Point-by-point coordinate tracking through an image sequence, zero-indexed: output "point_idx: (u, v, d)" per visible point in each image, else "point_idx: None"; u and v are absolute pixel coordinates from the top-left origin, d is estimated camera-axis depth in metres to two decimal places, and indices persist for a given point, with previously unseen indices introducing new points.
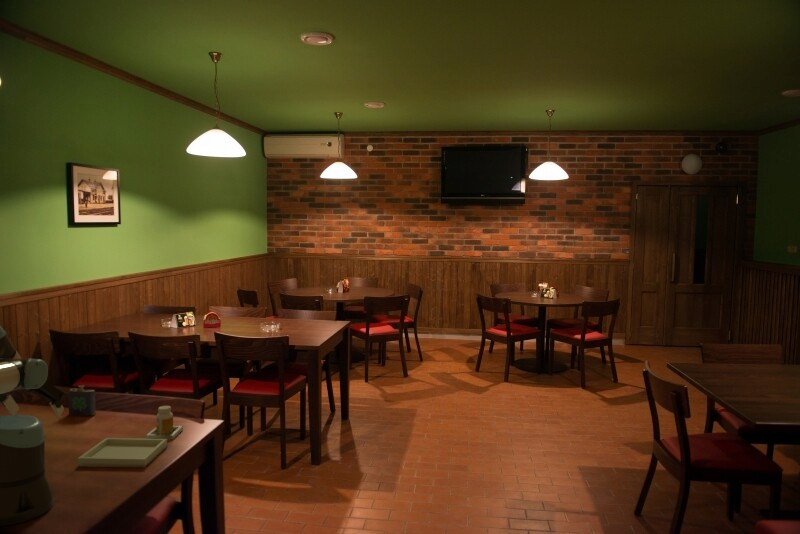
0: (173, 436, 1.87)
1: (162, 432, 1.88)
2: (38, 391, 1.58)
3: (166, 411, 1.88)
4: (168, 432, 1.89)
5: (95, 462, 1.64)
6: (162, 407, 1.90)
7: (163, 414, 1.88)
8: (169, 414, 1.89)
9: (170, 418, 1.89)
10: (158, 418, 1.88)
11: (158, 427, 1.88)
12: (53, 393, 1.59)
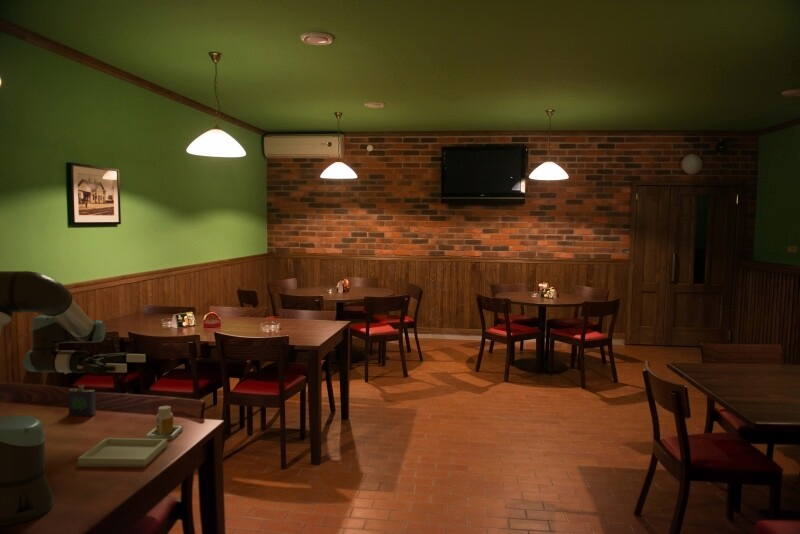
0: (173, 436, 1.87)
1: (162, 432, 1.88)
2: None
3: (166, 411, 1.88)
4: (168, 432, 1.89)
5: (95, 462, 1.64)
6: (162, 407, 1.90)
7: (163, 414, 1.88)
8: (169, 414, 1.89)
9: (170, 418, 1.89)
10: (158, 418, 1.88)
11: (158, 427, 1.88)
12: None
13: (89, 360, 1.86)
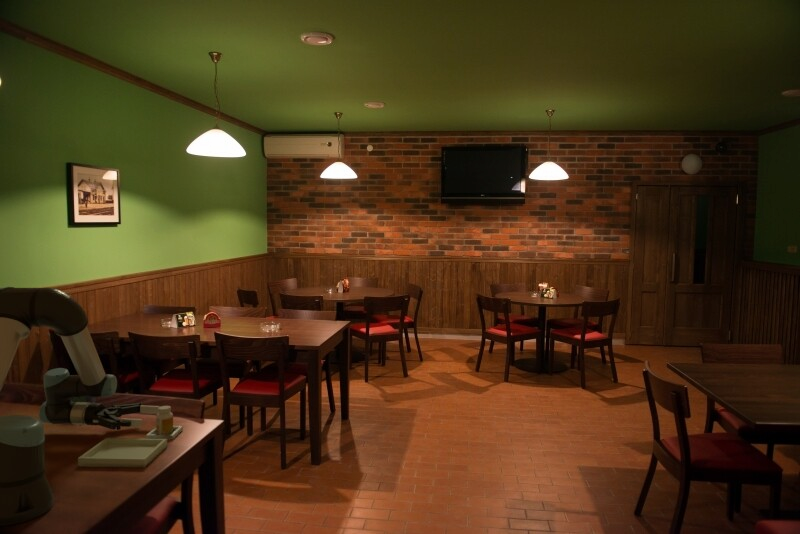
0: (173, 436, 1.87)
1: (162, 432, 1.88)
2: None
3: (166, 411, 1.88)
4: (168, 432, 1.89)
5: (95, 462, 1.64)
6: (162, 407, 1.90)
7: (163, 414, 1.88)
8: (169, 414, 1.89)
9: (170, 418, 1.89)
10: (158, 418, 1.88)
11: (158, 427, 1.88)
12: None
13: (104, 413, 1.88)
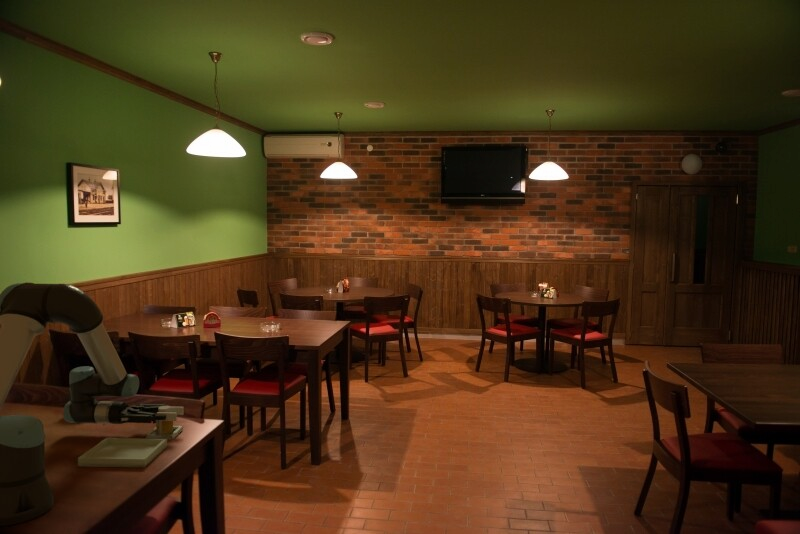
0: (173, 436, 1.87)
1: (162, 432, 1.88)
2: None
3: (166, 411, 1.88)
4: (168, 432, 1.89)
5: (95, 462, 1.64)
6: (162, 407, 1.90)
7: None
8: None
9: None
10: None
11: (158, 427, 1.88)
12: None
13: (129, 411, 1.88)
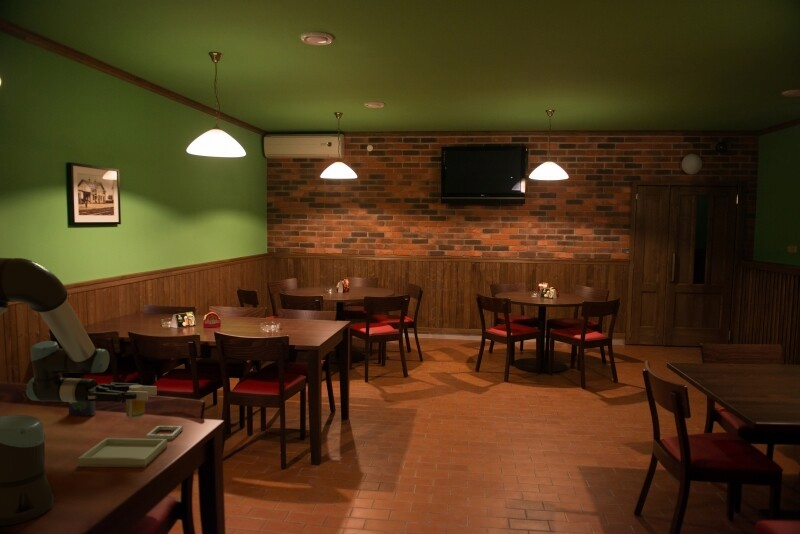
0: (173, 436, 1.87)
1: (132, 412, 1.74)
2: None
3: (137, 390, 1.75)
4: (139, 413, 1.75)
5: (95, 462, 1.64)
6: (133, 386, 1.76)
7: None
8: None
9: None
10: None
11: (128, 407, 1.74)
12: None
13: (97, 389, 1.74)
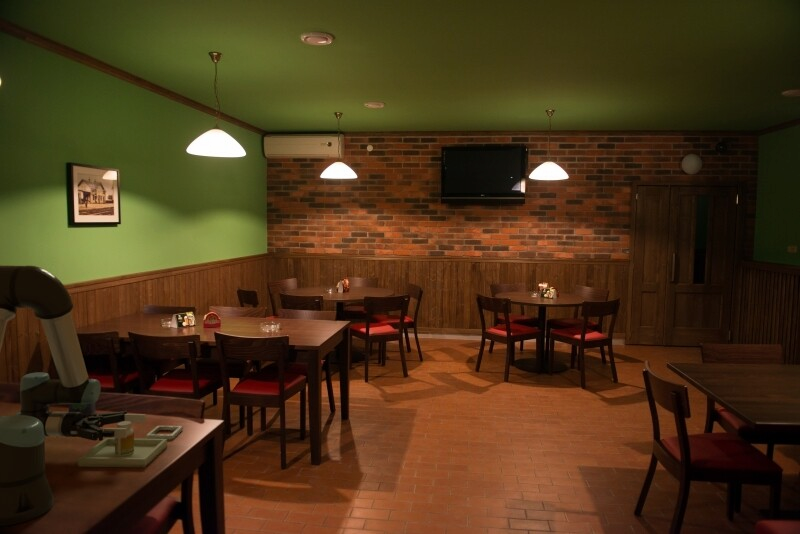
0: (173, 436, 1.87)
1: (121, 450, 1.70)
2: None
3: (126, 427, 1.70)
4: (128, 450, 1.71)
5: (95, 462, 1.64)
6: (121, 423, 1.72)
7: None
8: (129, 430, 1.71)
9: (130, 435, 1.71)
10: None
11: (117, 445, 1.70)
12: None
13: (83, 423, 1.69)
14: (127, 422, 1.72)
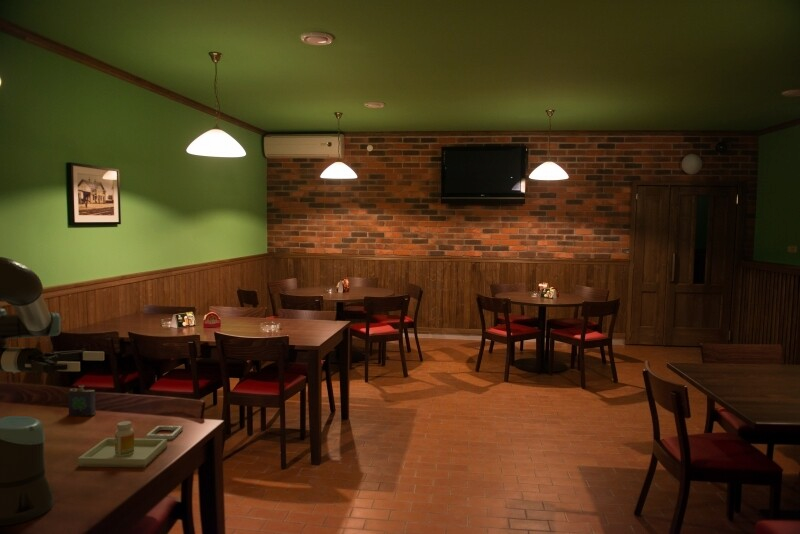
0: (173, 436, 1.87)
1: (121, 450, 1.70)
2: None
3: (126, 427, 1.70)
4: (128, 450, 1.71)
5: (95, 462, 1.64)
6: (121, 423, 1.72)
7: (122, 430, 1.70)
8: (129, 430, 1.71)
9: (130, 435, 1.71)
10: (116, 435, 1.70)
11: (117, 445, 1.70)
12: None
13: (39, 358, 1.68)
14: (127, 422, 1.72)
